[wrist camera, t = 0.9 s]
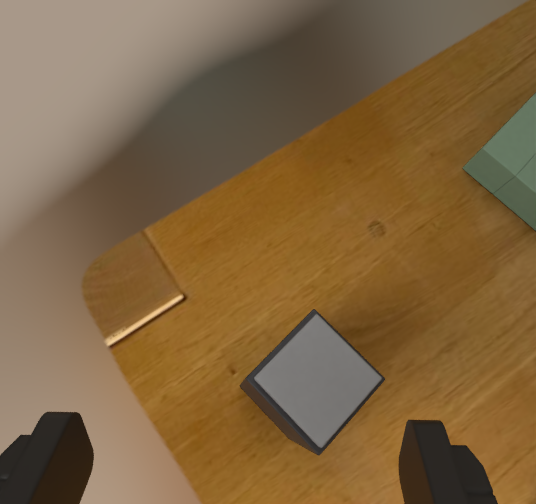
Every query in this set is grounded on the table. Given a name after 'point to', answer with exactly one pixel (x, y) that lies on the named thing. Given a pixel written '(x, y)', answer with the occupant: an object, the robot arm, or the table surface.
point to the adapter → (511, 163)
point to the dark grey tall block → (312, 383)
